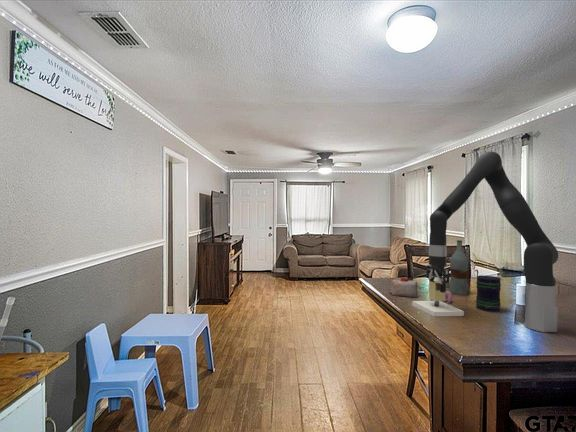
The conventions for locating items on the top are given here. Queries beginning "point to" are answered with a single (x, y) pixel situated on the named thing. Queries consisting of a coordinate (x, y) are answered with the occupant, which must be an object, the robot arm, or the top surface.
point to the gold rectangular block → (435, 291)
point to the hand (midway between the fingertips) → (437, 290)
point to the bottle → (459, 271)
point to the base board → (437, 308)
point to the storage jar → (488, 293)
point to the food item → (404, 287)
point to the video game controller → (448, 296)
